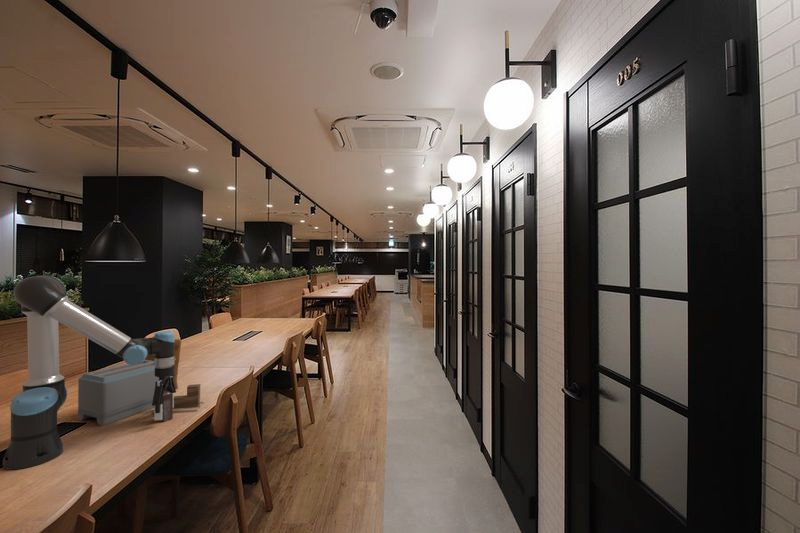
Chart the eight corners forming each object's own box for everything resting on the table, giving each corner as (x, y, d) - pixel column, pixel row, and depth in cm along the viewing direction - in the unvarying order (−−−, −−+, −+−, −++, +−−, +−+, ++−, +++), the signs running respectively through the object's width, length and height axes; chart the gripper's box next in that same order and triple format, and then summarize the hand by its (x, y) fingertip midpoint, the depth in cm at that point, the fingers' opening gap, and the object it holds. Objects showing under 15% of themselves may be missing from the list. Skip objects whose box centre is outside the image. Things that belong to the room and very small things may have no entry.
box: (155, 419, 161) (155, 393, 161) (165, 416, 165) (166, 390, 165) (162, 422, 158) (162, 395, 158) (173, 419, 162) (173, 392, 162)
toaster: (176, 400, 185) (176, 360, 185) (102, 427, 154) (102, 379, 154) (152, 395, 192) (152, 357, 192) (76, 419, 161) (76, 374, 161)
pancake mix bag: (181, 390, 200) (181, 339, 200) (138, 396, 190) (139, 343, 190) (180, 386, 205) (181, 337, 205) (139, 392, 195) (140, 341, 195)
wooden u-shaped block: (197, 411, 171) (197, 388, 171) (151, 414, 166) (152, 391, 167) (203, 403, 181) (203, 381, 181) (160, 406, 176) (160, 384, 176)
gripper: (163, 373, 150) (163, 424, 150) (183, 358, 175) (183, 402, 175) (142, 375, 149) (142, 426, 149) (165, 359, 173) (165, 403, 173)
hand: (164, 413), depth 162 cm, fingers open, 13 cm apart
